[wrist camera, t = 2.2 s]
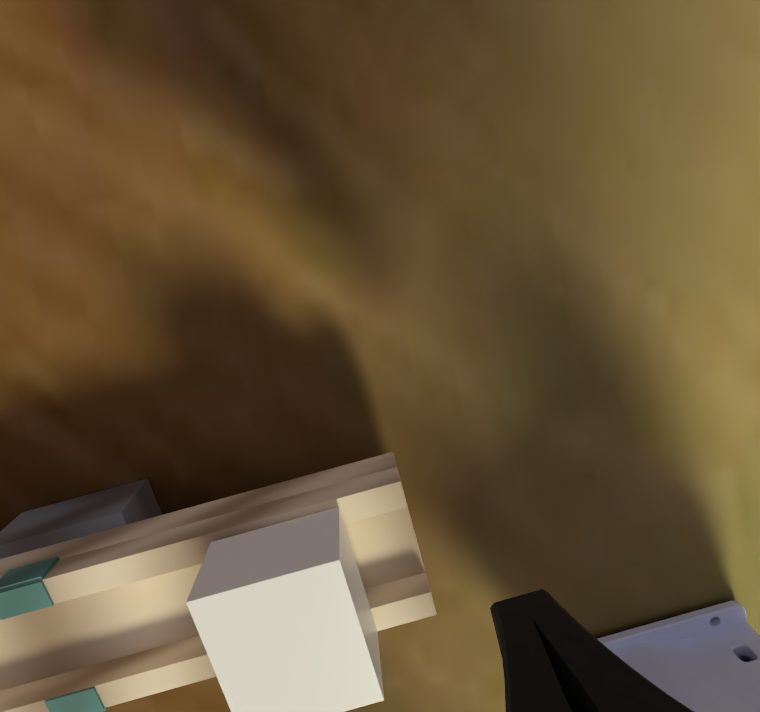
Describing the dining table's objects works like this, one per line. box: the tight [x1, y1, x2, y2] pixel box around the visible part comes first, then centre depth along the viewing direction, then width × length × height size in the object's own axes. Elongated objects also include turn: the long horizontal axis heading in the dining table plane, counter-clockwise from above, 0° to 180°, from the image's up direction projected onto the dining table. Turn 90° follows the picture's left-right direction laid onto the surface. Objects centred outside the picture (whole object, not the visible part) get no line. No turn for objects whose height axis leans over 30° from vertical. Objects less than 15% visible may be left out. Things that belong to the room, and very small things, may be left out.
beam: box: [0, 452, 437, 712], centre depth 17 cm, size 24×6×7 cm, turn 104°
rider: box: [186, 507, 384, 712], centre depth 15 cm, size 4×5×4 cm
